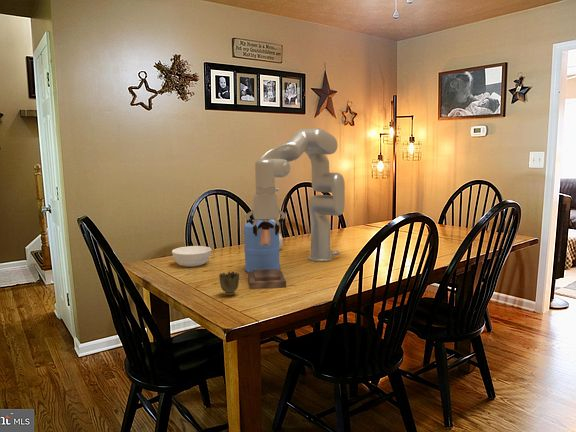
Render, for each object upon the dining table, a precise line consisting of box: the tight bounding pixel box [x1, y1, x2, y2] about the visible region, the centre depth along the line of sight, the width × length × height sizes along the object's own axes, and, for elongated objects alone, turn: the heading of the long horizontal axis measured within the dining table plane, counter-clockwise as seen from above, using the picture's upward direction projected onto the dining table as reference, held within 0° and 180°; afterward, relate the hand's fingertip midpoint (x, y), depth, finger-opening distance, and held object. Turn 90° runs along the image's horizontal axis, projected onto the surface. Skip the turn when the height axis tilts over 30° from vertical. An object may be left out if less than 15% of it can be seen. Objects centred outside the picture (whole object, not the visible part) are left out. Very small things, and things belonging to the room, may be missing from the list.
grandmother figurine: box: [257, 220, 276, 245], centre depth 182 cm, size 8×4×13 cm, turn 96°
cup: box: [218, 271, 240, 297], centre depth 169 cm, size 8×7×8 cm
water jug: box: [243, 219, 281, 273], centre depth 202 cm, size 16×16×28 cm
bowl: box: [171, 245, 212, 268], centre depth 216 cm, size 18×18×7 cm
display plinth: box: [247, 269, 287, 290], centre depth 185 cm, size 14×16×4 cm
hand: (266, 234), depth 182 cm, fingers closed on grandmother figurine, 7 cm apart
